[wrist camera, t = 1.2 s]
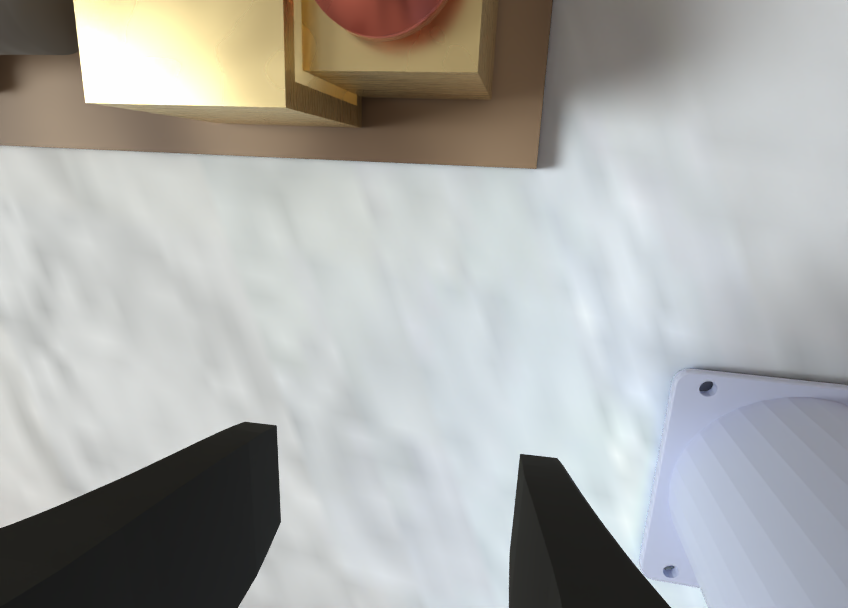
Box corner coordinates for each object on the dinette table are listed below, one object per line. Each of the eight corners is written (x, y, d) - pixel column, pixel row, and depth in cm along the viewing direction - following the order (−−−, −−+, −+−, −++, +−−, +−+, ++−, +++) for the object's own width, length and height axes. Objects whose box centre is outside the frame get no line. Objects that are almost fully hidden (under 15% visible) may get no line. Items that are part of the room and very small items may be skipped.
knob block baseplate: (565, -132, 14) (586, -303, 9) (536, 168, 16) (540, 167, 11) (-126, -93, 18) (-375, -194, 13) (-78, 141, 20) (-278, 131, 15)
